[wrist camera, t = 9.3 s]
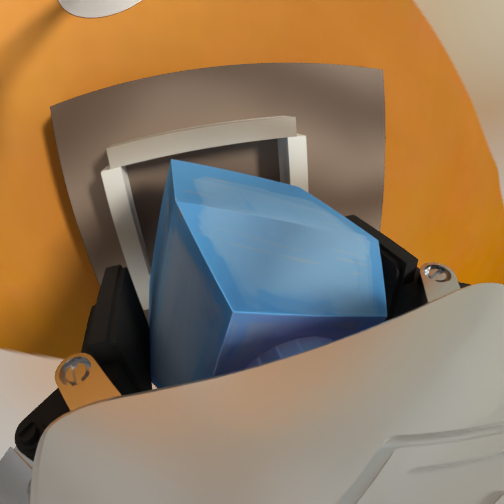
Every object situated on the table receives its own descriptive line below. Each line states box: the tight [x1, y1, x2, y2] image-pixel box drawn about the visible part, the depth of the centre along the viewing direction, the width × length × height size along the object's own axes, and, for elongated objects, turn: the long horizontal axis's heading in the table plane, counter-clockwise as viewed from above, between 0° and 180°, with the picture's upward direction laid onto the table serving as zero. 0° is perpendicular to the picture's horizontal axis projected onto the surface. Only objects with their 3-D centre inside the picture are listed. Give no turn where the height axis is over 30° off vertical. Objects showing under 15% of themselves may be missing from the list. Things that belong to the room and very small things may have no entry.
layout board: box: [50, 63, 385, 324], centre depth 16 cm, size 16×19×3 cm
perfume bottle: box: [149, 159, 387, 388], centre depth 9 cm, size 6×6×12 cm
